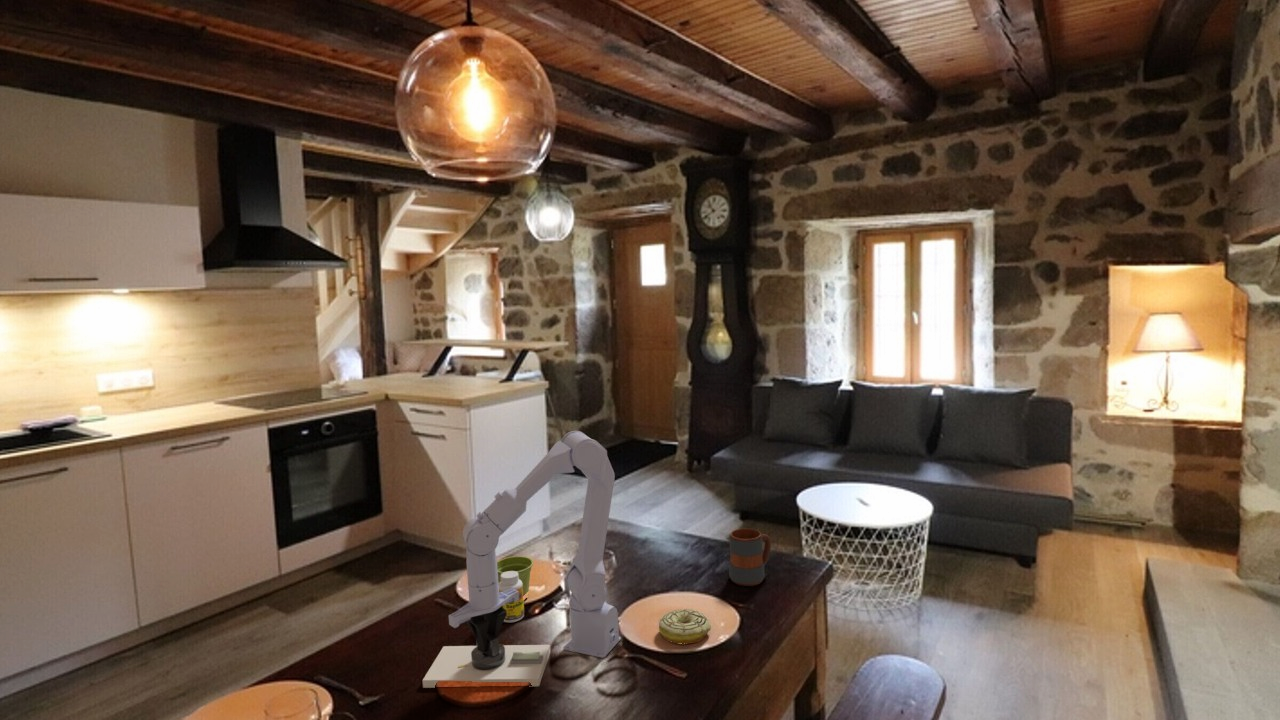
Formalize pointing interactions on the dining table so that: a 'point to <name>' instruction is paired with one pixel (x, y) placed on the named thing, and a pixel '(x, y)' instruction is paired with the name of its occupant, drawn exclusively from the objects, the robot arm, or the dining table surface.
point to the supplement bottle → (513, 608)
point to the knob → (489, 654)
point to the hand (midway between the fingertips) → (487, 647)
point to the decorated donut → (684, 626)
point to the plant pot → (516, 569)
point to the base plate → (517, 667)
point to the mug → (748, 556)
